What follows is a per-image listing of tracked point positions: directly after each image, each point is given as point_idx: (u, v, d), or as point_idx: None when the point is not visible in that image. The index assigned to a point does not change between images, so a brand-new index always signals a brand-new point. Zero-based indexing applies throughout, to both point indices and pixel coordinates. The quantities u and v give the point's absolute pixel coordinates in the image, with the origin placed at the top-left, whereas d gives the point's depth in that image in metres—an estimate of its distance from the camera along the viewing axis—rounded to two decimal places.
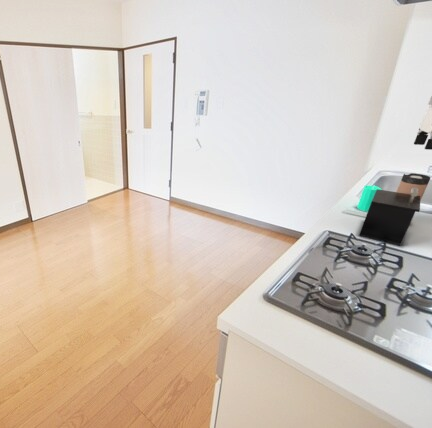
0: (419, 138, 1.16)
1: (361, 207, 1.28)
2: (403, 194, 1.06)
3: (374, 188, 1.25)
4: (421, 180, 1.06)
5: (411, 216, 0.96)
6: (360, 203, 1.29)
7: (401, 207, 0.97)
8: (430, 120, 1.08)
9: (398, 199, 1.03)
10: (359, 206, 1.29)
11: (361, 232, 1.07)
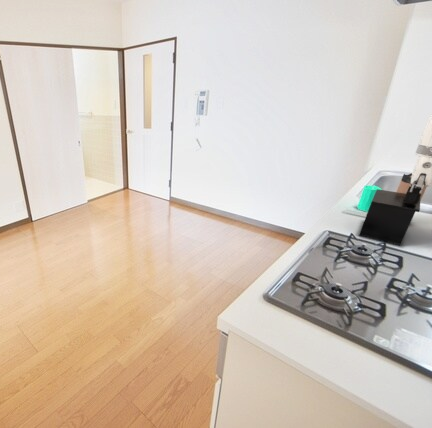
0: None
1: (361, 207, 1.28)
2: (403, 194, 1.06)
3: (374, 188, 1.25)
4: None
5: (411, 216, 0.96)
6: (360, 203, 1.29)
7: (401, 207, 0.97)
8: (414, 170, 0.96)
9: (398, 199, 1.03)
10: (359, 206, 1.29)
11: (361, 232, 1.07)
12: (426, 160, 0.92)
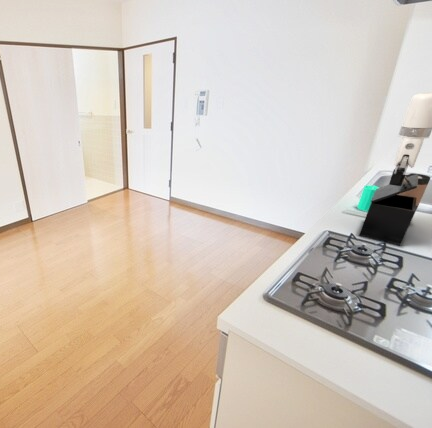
0: None
1: (361, 207, 1.28)
2: None
3: (374, 188, 1.25)
4: (421, 180, 1.06)
5: (411, 216, 0.96)
6: (360, 203, 1.29)
7: (399, 192, 0.96)
8: (397, 152, 0.97)
9: (395, 187, 1.02)
10: (359, 206, 1.29)
11: (361, 232, 1.07)
12: (408, 141, 0.93)
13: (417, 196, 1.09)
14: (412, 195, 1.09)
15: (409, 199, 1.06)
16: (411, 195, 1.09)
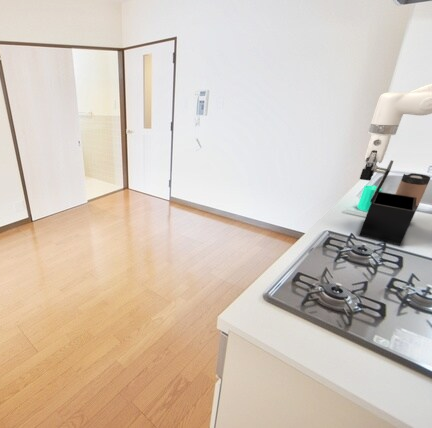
0: None
1: (361, 207, 1.28)
2: None
3: (374, 188, 1.25)
4: (421, 180, 1.06)
5: (411, 216, 0.96)
6: (360, 203, 1.29)
7: (381, 182, 0.99)
8: (367, 148, 1.03)
9: (381, 179, 1.04)
10: (359, 206, 1.29)
11: (361, 232, 1.07)
12: (376, 138, 0.99)
13: (417, 196, 1.09)
14: (412, 195, 1.09)
15: (409, 199, 1.06)
16: (410, 195, 1.09)
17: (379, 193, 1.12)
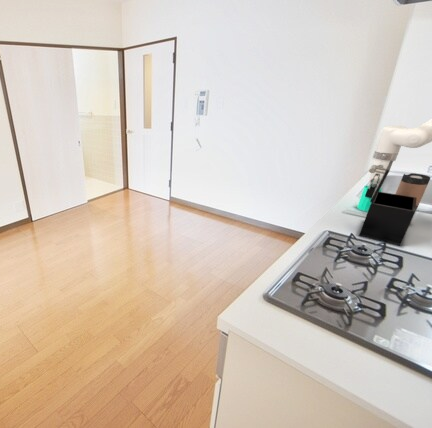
0: None
1: (361, 207, 1.28)
2: None
3: None
4: (421, 180, 1.06)
5: (411, 216, 0.96)
6: (360, 203, 1.29)
7: (381, 182, 0.99)
8: None
9: None
10: (359, 206, 1.29)
11: (361, 232, 1.07)
12: (379, 163, 1.18)
13: (417, 196, 1.09)
14: (412, 195, 1.09)
15: (409, 199, 1.06)
16: (411, 195, 1.09)
17: (379, 193, 1.12)
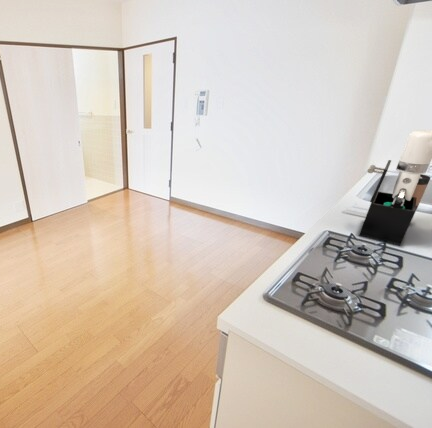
0: None
1: None
2: (383, 172, 1.08)
3: None
4: (421, 180, 1.06)
5: (411, 216, 0.96)
6: None
7: (380, 181, 0.99)
8: (395, 185, 1.01)
9: None
10: None
11: (361, 232, 1.07)
12: (406, 176, 0.96)
13: (417, 196, 1.09)
14: (412, 195, 1.09)
15: None
16: None
17: (379, 193, 1.12)
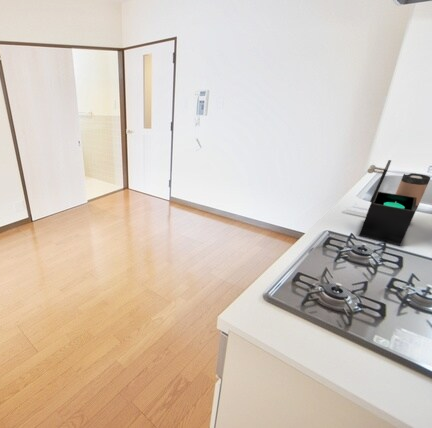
0: None
1: None
2: (383, 172, 1.08)
3: (396, 206, 1.06)
4: (421, 180, 1.06)
5: (411, 216, 0.96)
6: None
7: (380, 181, 0.99)
8: None
9: None
10: None
11: (361, 232, 1.07)
12: None
13: (417, 196, 1.09)
14: (412, 195, 1.09)
15: (409, 199, 1.06)
16: (410, 195, 1.09)
17: (379, 193, 1.12)
